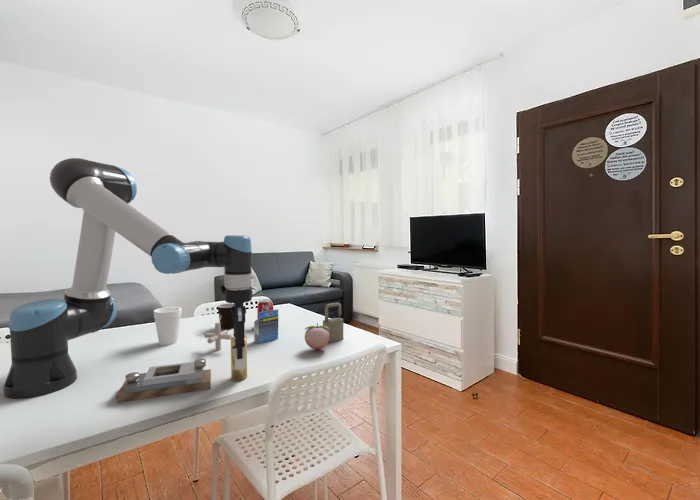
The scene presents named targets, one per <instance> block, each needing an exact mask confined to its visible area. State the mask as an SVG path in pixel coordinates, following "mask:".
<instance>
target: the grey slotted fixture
mask: <svg viewBox="0 0 700 500" xmlns="http://www.w3.org/2000/svg"><path fill="white" fill-rule="evenodd" d="M206 363H207V360H206V359H205V358H198V359H195V360H194V361H189V362H182V363H173V364H165V365H163V364H162V365H155V366H149V368H148V370H147V372H137V371H135V372H130V373H128V374H126V375H125V380H126V383H128V384H127V386H126V388H125V391H126V394H127V393H134V392H141V391H148V390H155V389H162V388H168V387H175V386H182V385H189V384H196V383H202V381H203V371H204V370H205V369H204V368H206V366H207V364H206Z"/></svg>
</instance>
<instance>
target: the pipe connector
mask: <svg viewBox="0 0 700 500" xmlns="http://www.w3.org/2000/svg"><path fill="white" fill-rule="evenodd" d="M221 330H222V329H221V327H220V321H217V322H215V323H214V332H213V333H212V332H205V333H204V334H203V336H204V338H205V339H207V343H208V344H212V343H214V342H215V345H214V346H215V351H216V352H218V351H221V350H222V340H228V341H229V340H230V341H231V338H232V337H233V336H232V335H233V334H228V330H224V329H223V331H221Z"/></svg>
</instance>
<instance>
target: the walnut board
mask: <svg viewBox="0 0 700 500" xmlns="http://www.w3.org/2000/svg"><path fill="white" fill-rule="evenodd" d="M211 379H212V370H211V368H209V369H204V371H203V381H202V383H196V384H189V385H182V386H175V387H168V388H162V389H155V390H148V391H141V392H134V393H127V394H126V391H125V388H126V386H127V384H128V383H126V379H125V380H124V382H123V383H122V385H121V387H120V388H119V390H118V392H117V394H116V395H115V396H116V398H115V399H116V400H115V402H116V404H119V403H124V402H125V403H126V402H132V401H139V400H140V401H141V400H145V399H152V398H153V399H154V398H159V397H164V396H172V395H177V394H186V393H191V392H197V391H204V390H205V391H206V390H211V381H212V380H211Z"/></svg>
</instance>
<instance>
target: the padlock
mask: <svg viewBox="0 0 700 500" xmlns="http://www.w3.org/2000/svg"><path fill="white" fill-rule="evenodd" d="M333 307H337V314H338V317H333V318H329V309H330V308H333ZM341 316H342V304H341V303H340V302H332V303H327V304H325V306H324V320H322V326H326V327H328V328H329V329H330V330H329V329H327V330H328V331H329V341H328V343H334V342H339V341H341V340H344V318H341Z"/></svg>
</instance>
